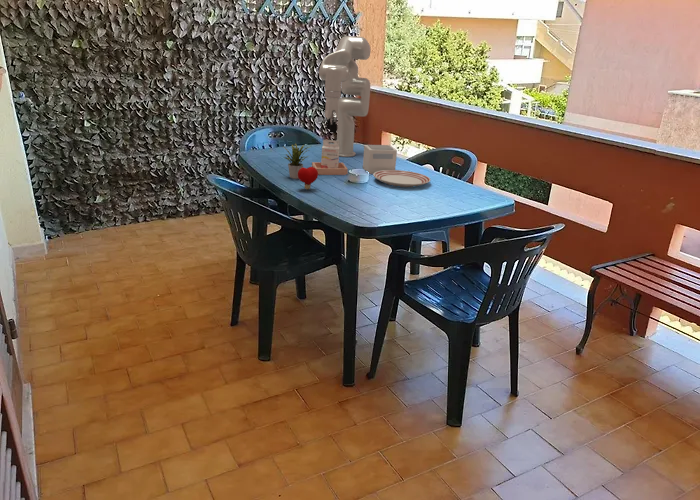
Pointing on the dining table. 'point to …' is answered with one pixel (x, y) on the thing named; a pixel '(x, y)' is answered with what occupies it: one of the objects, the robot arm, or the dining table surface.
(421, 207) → the dining table surface
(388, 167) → the grey unit
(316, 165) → the tray
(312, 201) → the dining table surface
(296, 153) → the house plant
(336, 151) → the ink cartridge box
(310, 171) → the red heart ornament
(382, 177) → the dinner plate
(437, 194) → the dining table surface
